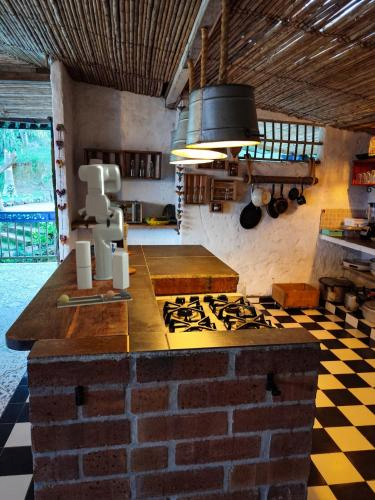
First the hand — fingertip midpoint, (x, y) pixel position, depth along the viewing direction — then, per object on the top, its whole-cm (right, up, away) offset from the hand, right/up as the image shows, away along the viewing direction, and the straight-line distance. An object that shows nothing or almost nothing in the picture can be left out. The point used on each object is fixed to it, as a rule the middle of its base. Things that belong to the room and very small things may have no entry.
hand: (97, 227), depth 170 cm
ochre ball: (-12, -33, -12) cm, 37 cm away
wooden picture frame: (-5, -34, -10) cm, 36 cm away
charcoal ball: (+13, -31, -4) cm, 34 cm away
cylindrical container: (-10, -31, +13) cm, 36 cm away
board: (0, -35, -6) cm, 35 cm away
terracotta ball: (+7, -32, -6) cm, 33 cm away
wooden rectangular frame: (+10, -34, -4) cm, 35 cm away
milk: (+9, -32, +13) cm, 35 cm away
